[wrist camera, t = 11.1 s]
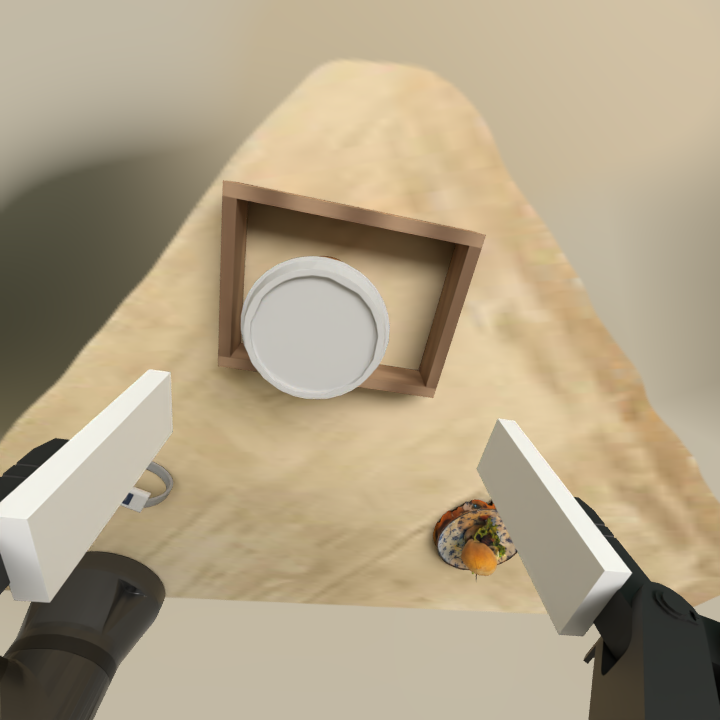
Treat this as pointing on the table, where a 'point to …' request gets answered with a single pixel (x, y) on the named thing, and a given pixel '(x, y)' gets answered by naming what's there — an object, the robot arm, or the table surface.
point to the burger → (473, 538)
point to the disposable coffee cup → (314, 327)
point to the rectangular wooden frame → (466, 241)
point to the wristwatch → (141, 499)
